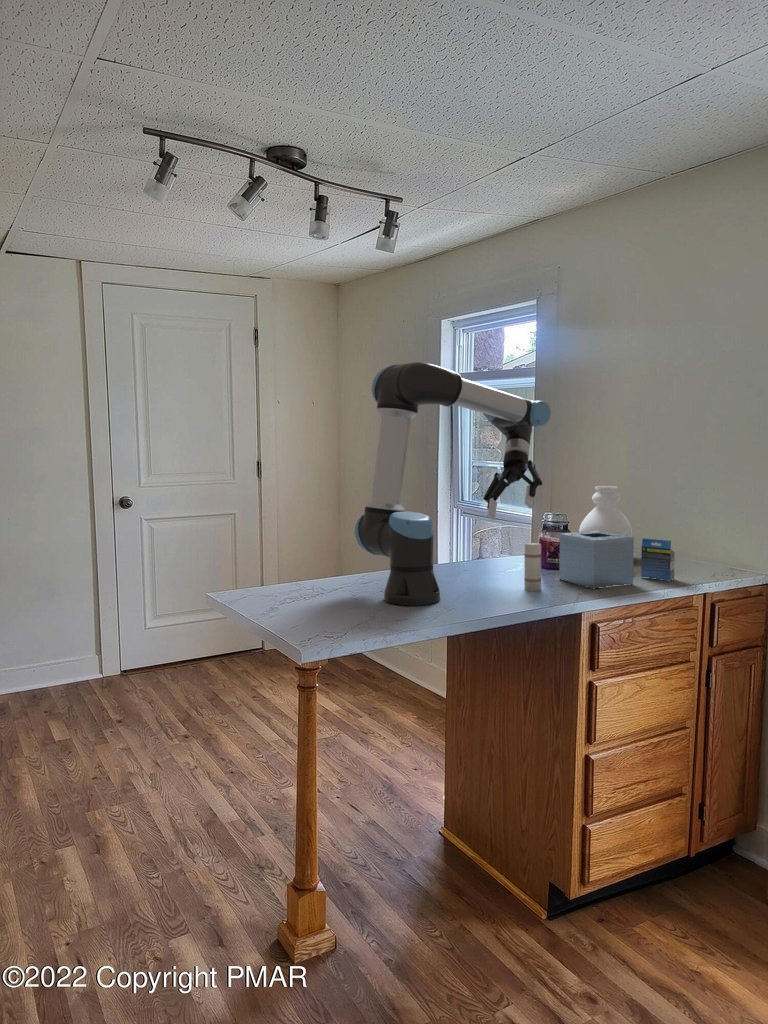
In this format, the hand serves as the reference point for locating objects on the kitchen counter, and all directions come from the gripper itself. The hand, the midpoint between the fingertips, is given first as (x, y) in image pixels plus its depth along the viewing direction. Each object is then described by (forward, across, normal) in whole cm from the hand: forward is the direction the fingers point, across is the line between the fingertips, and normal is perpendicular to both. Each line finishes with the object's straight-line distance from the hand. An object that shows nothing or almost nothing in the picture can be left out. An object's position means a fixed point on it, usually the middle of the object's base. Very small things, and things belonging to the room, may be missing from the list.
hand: (509, 512), depth 219 cm
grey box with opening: (+12, -13, -27) cm, 33 cm away
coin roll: (+22, -4, -10) cm, 24 cm away
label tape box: (+7, -25, -42) cm, 49 cm away
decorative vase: (-16, +2, -57) cm, 59 cm away
